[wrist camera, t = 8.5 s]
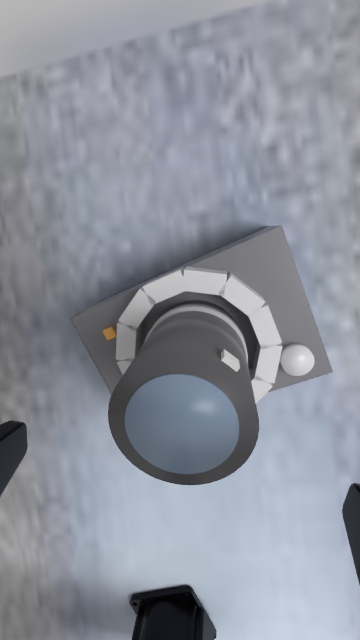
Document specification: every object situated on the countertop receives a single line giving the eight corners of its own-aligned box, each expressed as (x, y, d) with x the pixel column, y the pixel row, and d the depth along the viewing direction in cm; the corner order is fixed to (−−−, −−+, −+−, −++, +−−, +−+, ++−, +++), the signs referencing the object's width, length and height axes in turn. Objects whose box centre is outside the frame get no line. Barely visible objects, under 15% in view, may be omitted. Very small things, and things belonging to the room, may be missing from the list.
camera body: (149, 399, 22) (128, 448, 17) (97, 300, 20) (58, 323, 15) (311, 345, 19) (342, 385, 14) (267, 224, 18) (286, 223, 13)
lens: (205, 400, 17) (195, 514, 10) (134, 349, 17) (76, 432, 10) (265, 336, 15) (300, 420, 9) (188, 278, 15) (162, 318, 8)
